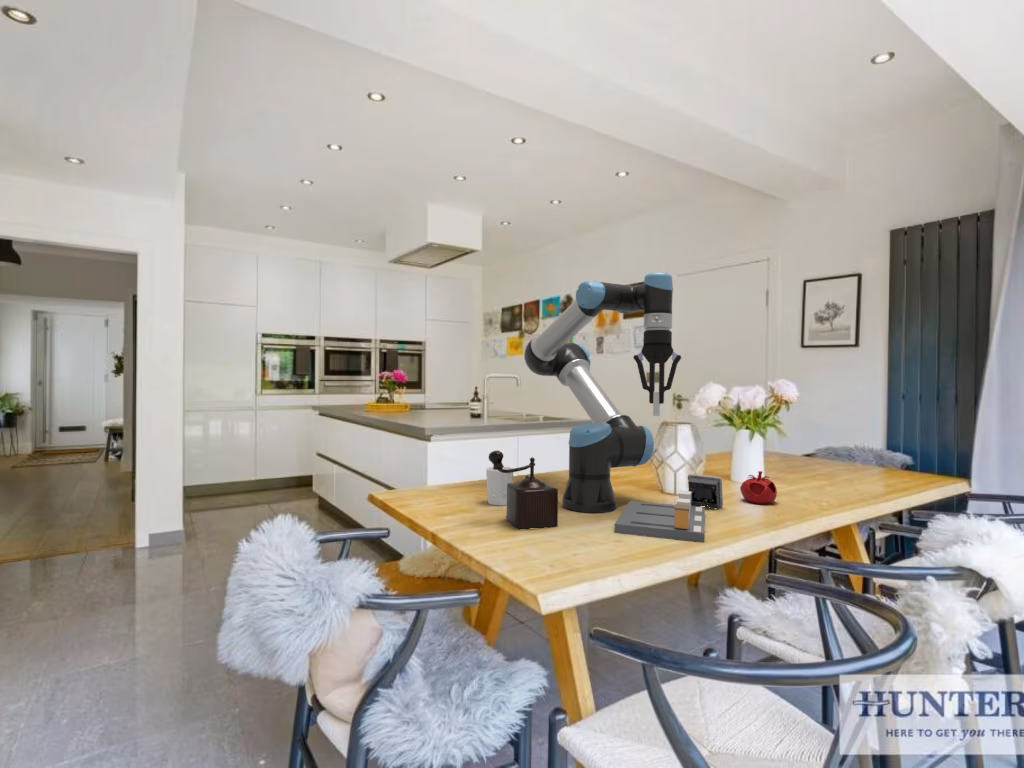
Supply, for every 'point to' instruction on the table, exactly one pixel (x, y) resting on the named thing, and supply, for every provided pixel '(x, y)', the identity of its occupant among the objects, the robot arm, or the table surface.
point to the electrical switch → (705, 490)
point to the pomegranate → (759, 490)
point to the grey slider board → (661, 520)
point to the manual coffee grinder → (528, 498)
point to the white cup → (498, 485)
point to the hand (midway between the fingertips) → (656, 415)
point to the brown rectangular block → (681, 516)
